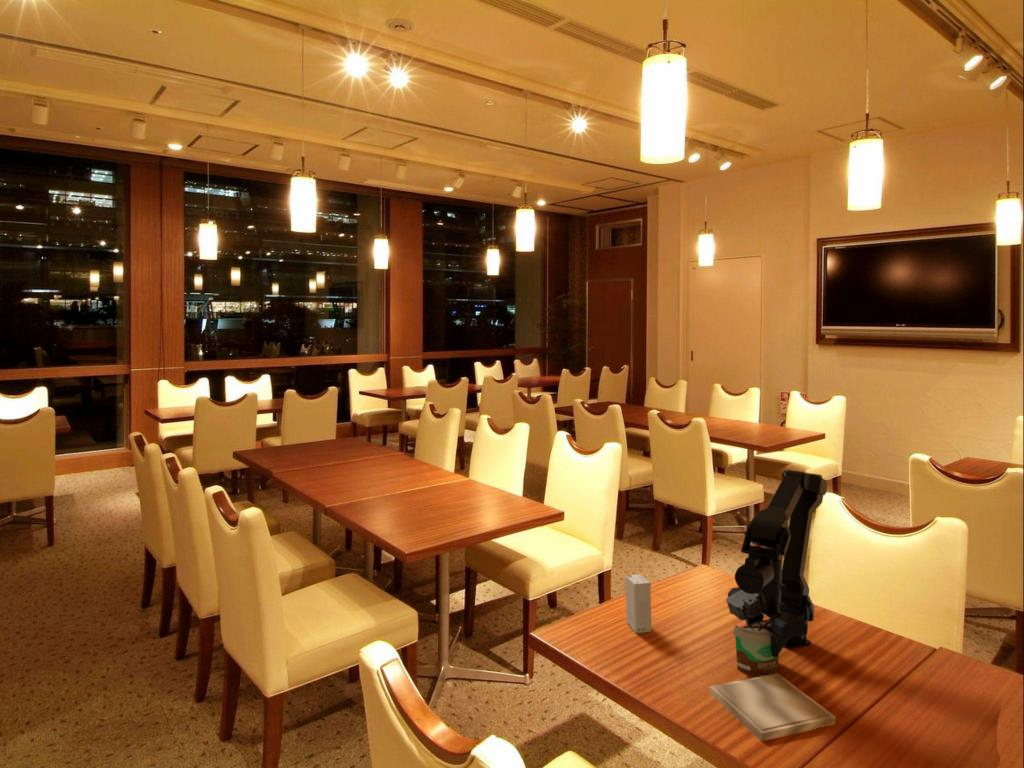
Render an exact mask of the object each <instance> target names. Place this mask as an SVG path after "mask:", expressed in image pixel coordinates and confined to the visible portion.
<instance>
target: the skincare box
mask: <svg viewBox="0 0 1024 768" xmlns="http://www.w3.org/2000/svg"><path fill="white" fill-rule="evenodd" d="M651 584H652V583H651V582H650V581H649V580H648V579H647V578H645V577H644V576H643V575H642V574H640V573H639V574H630V575H625V605H626V607H625V609H626V610H625V611H626V612H625V613H626V614H625V615H626V624H627V625H628V624H629V625H628V626H629V627H630V628H631V629H632V630H633V632H634V633H635V634H643V633H651V632H652V601H651V600H652V599H651V597H652V595H651V594H652V593H651V591H652V590H651Z"/></svg>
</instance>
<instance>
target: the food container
mask: <svg viewBox="0 0 1024 768" xmlns="http://www.w3.org/2000/svg"><path fill="white" fill-rule="evenodd" d="M771 620H772V619H771V618H768V619H763V621H755V622H753V623H751V624H749V625H747V624H745V626H739V625H737V624H734V628H733V631H732V632H733V633H732V635H733V636H735V651H736V653H735V654H736V668H737V670H739V671H741V672H744V673H746V674H749V675H753V676H766V675H771V674H776V672H777V670H778V667H779V666H778V664H779V658H780V657H779V656H780V654H779V655H778V656H777V657H773V656H772V651H771V634H770V633H769V632H768V631H767V630H766V628H767V627H771Z"/></svg>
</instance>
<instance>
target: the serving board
mask: <svg viewBox="0 0 1024 768" xmlns="http://www.w3.org/2000/svg"><path fill="white" fill-rule="evenodd" d="M709 695H711V696H712V697H713V698H714V699H715V700H716V701H718V703H719V704H720V705H722V706H723V708H725V709H726V710H727V711H728V712H729V713H730V714H731V715H732V716H734V718H736V720H737V721H738V722H740V723H741V724H742V725H743V726H744V727H746V729H747V730H749V731H750V732H751V733H752V734H753V735H754V736H755V738H757V739H758V740H759V741H760V742H765V741H770V740H774V739H778V738H783V737H787V736H792V735H797V734H800V733H805V732H809V730H810V731H813V730H812V729H814V730H817V729H816V728H819V727H822V726H825V725H828V724H833V723H837V722H836V720H837V717H836V716H835V715H834V714H832V713H831V712H830V711H829V710H827V709H826V708H825V707H823V706H822V705H821V704H819V703H818V702H817V701H815V700H814V699H813V698H811V697H810V696H808V694H806V693H805V692H804V691H802V690H801V689H799V688H798V687H796V686H795V685H794V684H793V683H792V682H790V681H789V680H787V678H785V677H783V676H782V675H781V674H780V673H778V672H777V673H776V672H775V673H773V674H770V675H760V676H756V677H751V678H750V677H749V678H746V679H742V680H737V681H730V682H725V683H720V684H715V685H714V684H713V685H710V686H709ZM819 729H820V728H819Z"/></svg>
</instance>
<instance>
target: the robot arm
mask: <svg viewBox="0 0 1024 768" xmlns="http://www.w3.org/2000/svg"><path fill="white" fill-rule="evenodd" d="M827 489H828V483H827V480H826V479H825V478H823V475H822V474H819V473H810V472H805V471H801V470H792V469H787V470H783V472H782V476H781V481H780V483H779V485H778V487H777V489H776V490H775V493H774V494H773V495H772V498H771V500H770V502H769V503H768V505H767V507H766V508H764V509H761V510H759V511H757V512H756V514H755V515H754V516H753V517H752V519H751V520H750V521H749V522H748V524H747V527H746V530H745V535H744V539H743V543H742V546H741V549H740V550H741V551H740V552H741V553H742V554H746V555H747V554H748V557H746V558H745V559H744V563H743V564H742V565H740V566H739V567H738V568H737V569H736V570H735V571H736V572H735V573H734V580H735V583H736V585H737V586H738V587H732V588H730V590H729V591H728V592H727V597H726V599H725V601H726V604H727V607H728V610H729V613H730V614H731V615H733V616H735V617H736V618H737V619H738V620H740V621H745V623H746V625H749V624H751V623H753V622H755V621H763V620H764V617H768V619H770V618H771V619H772V620H771V627H767V628H766V630H767V631H768V632H769V633H770V634H771V651H772V656H773V657H777V656H778V655H779V656H780V654H781V652H782V649H783V648H784V647H786V648H787V649H792V648H798V647H802V646H803V647H804V646H808V645H812V641H811V640H809V639H808V638H807V635H808V633H809V632H808V630H809V628H808V627H809V624H808V623H809V622H813V621H814V619H815V618H814V617H815V605H814V604H813V600H812V598H811V597H810V588H809V584H808V582H807V580H806V578H805V568H806V562H807V554H808V547H809V541H810V535H811V534H810V533H811V529H812V528H811V527H812V520H813V515H814V512H815V511H816V510H817V509H818V508H819V507H820V505H822V503H823V499H824V496H826V494H827ZM751 543H752V544H753V545H752V544H751ZM760 546H761V547H760Z"/></svg>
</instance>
